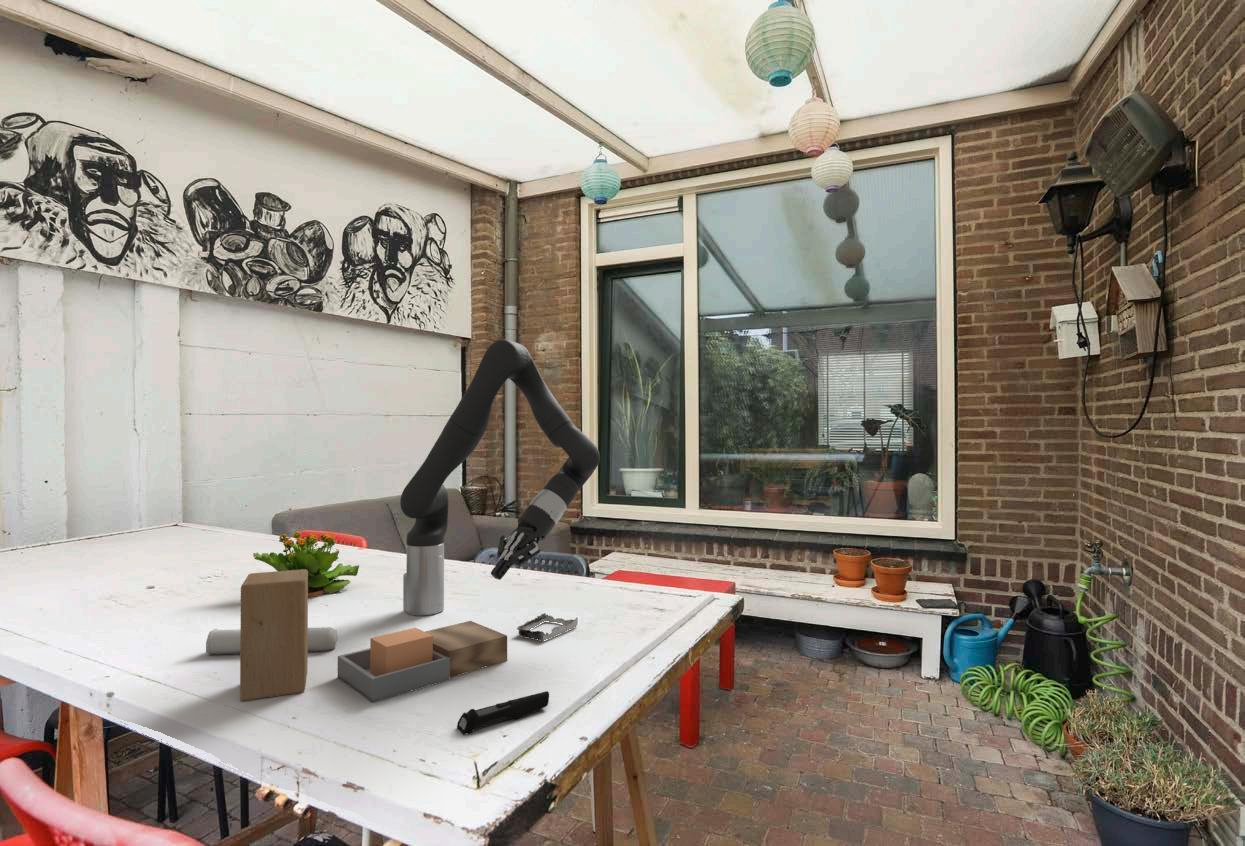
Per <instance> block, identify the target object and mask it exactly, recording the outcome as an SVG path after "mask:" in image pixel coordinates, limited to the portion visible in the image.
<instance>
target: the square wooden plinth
mask: <svg viewBox="0 0 1245 846" xmlns="http://www.w3.org/2000/svg"><path fill="white" fill-rule="evenodd" d="M424 632H426V633H428V634H430V635H432V636H433V650H435V651H437V652H439V653H441V654H443V655H445V656H447V657H449V658H450V678H454V677H457V676H460V675H464V674H467V673H470V672H473V670H474V671H477V670H480V669H483V668H482V667H484V668H486V667H485V666H487V667H490V666H489V665H491V666H494V665H497V664H500V663H499V662H501V663H503V662H502V661H504V662H507V661H508V635H506V634H504V633H502V632H500V631H497V630H494V629H492V628H489V627H487V626H484V625H482V624H481V623H477V622H474V621H473V620H467V621H464V622H459V623H455V624H450V625H447V626H443V627H438V628H434V629H430V630H427V631H424ZM506 660H507V661H506ZM496 663H497V664H496ZM493 664H494V665H493ZM479 668H480V669H479ZM476 669H477V670H476ZM466 672H467V673H466ZM463 673H464V674H463ZM453 676H454V677H453Z"/></svg>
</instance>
